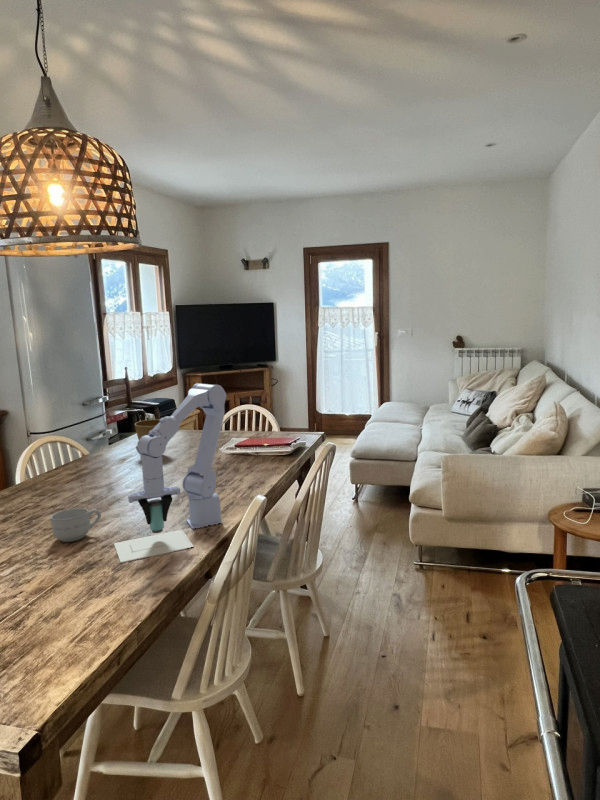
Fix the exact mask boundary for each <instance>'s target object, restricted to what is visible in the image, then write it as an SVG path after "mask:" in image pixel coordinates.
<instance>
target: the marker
mask: <svg viewBox="0 0 600 800" xmlns="http://www.w3.org/2000/svg"><path fill="white" fill-rule="evenodd" d="M148 503H149V515H150V524H149V529H150V531H151V533H152V534H161V533H162V532H163V530H164V528H165V521H164V518H163V506H162V500H161V498H160V499H159V498H158V499H157V498H154V499H149V500H148Z"/></svg>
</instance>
